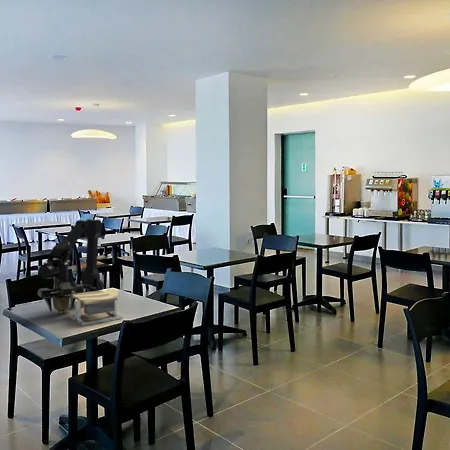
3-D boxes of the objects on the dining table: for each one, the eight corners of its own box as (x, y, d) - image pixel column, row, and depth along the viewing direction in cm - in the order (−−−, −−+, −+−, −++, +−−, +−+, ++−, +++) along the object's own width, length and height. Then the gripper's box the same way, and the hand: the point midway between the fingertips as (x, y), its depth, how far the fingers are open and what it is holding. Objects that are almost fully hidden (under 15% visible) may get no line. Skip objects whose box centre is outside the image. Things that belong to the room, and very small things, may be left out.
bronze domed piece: (60, 316, 218) (60, 298, 218) (48, 313, 222) (48, 295, 222) (73, 312, 225) (73, 295, 224) (62, 310, 229) (62, 292, 228)
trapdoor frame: (71, 317, 217) (71, 298, 216) (110, 311, 228) (110, 293, 227) (82, 325, 207) (82, 305, 206) (122, 318, 218) (123, 299, 217)
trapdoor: (71, 306, 222) (71, 294, 221) (101, 302, 230) (101, 290, 230) (85, 315, 209) (85, 302, 209) (116, 310, 218) (116, 297, 217)
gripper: (45, 280, 210) (45, 317, 211) (88, 276, 221) (88, 311, 223) (37, 275, 219) (37, 311, 220) (79, 271, 230) (79, 305, 231)
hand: (61, 309), depth 223 cm, fingers open, 9 cm apart
